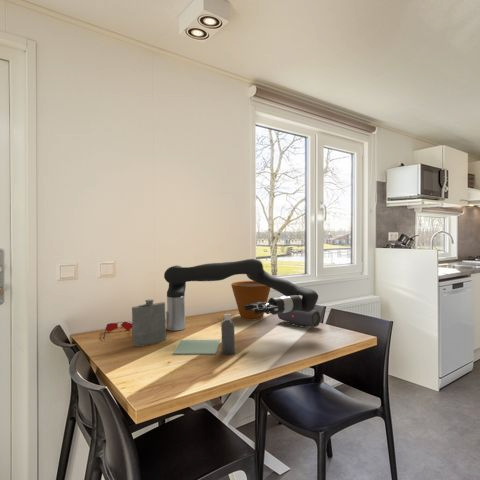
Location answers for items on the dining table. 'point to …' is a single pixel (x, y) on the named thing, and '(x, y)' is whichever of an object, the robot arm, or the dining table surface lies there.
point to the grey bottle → (228, 336)
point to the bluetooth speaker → (301, 318)
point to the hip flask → (148, 323)
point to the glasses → (115, 326)
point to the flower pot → (249, 297)
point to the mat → (197, 347)
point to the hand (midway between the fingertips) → (249, 309)
